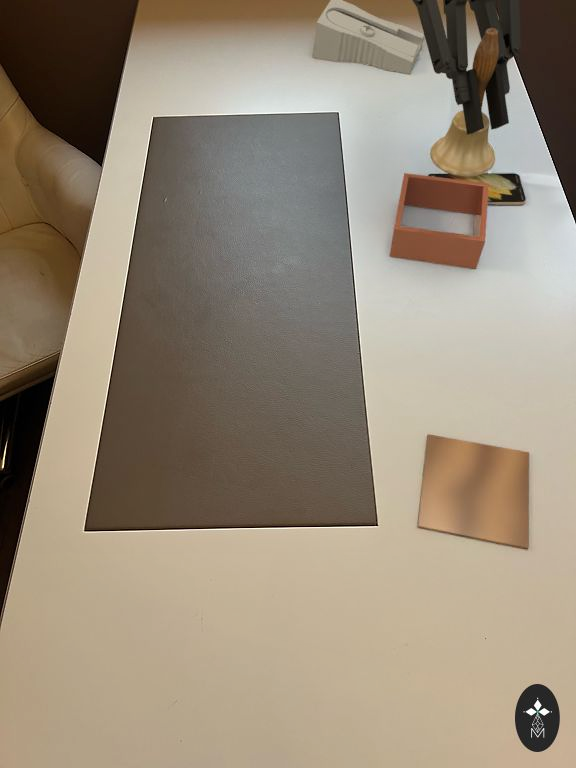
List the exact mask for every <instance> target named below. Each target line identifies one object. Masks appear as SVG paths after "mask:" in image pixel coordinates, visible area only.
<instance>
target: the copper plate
mask: <svg viewBox="0 0 576 768" xmlns="http://www.w3.org/2000/svg"><path fill="white" fill-rule="evenodd" d="M420 489H421V491H420V500H419V509H418V518H417V528H419V529H424V530H429V531H434V532H439V533H444V534H450V535H454V536H458V537H465V538H469V539H474V540H479V541H483V542H490V543H493V544H499V545H502V546H503V545H504V546H509V547H513V548H518V549H524V550H528V549H530V548H529V546H530V537H529V536H530V522H529V521H530V452H528V451H523V450H518V449H513V448H508V447H503V446H495V445H490V444H486V443H485V444H484V443H481V442H480V443H479V442H473V441H467V440H462V439H458V438H452V437H445V436H440V435H435V434H430V433H429V434H427V435H426V445H425V454H424V462H423V472H422V481H421V488H420Z"/></svg>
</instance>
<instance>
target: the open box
mask: <svg viewBox="0 0 576 768" xmlns="http://www.w3.org/2000/svg"><path fill="white" fill-rule="evenodd" d="M488 187H489V184H488V183H480V182H472V181H464V180H456V179H448V178H440V177H432V176H428V175H424V174H415V173H409V172H408V173H406V172H404V173H403V177H402V183H401V189H400V193H399V198H398V205H397V209H396V214H395V215H396V216H395V221H394V227H393V232H392V238H391V243H390V249H389V250H390V251H389V257H390V258H396V259H403V260H410V261H415V262H417V261H418V262H424V263H431V264H438V265H445V266H451V267H459V268H464V269H465V268H467V269H473V270H476V269H477V268H478V264H479V261H480V259H481V255H482V252H483V250H484V247H485V243H486V236H487V235H486V233H487V218H488V205H489V204H488ZM406 206H407V207H413V208H414V207H415V208H423V209H430V210H437V211H443V212H444V211H445V212H453V213H460V214H467V215H474V218H473V219H474V221H473V233H472V234H473V235H470V234H463V233H456V232H447V231H441V230H434V229H433V230H432V229H427V228H418V227H413V226H412V227H411V226H403V225H402V217H403V212H404V207H406Z"/></svg>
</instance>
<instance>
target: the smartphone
mask: <svg viewBox="0 0 576 768" xmlns="http://www.w3.org/2000/svg"><path fill="white" fill-rule="evenodd" d="M427 176H432V177H440V178H448V179H456V180H464V181H472V182H480V183H488V184H489V187H488V204H487V205H524V204H525V203H526V201H527V197H526V194H525V189H524V186H523V184H522V180H521V177H520V175H519V174H518V173H515V172H507V173H505V172H504V173H503V172H502V173H501V172H500V173H499V172H496V173H495V172H494V173H493V172H492V173H489V172H488V173H487V172H486V173H484V174H481V175H478V176H473V177H461V176H455V175H451V174H448V173H428V174H427Z"/></svg>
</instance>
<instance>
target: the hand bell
mask: <svg viewBox="0 0 576 768" xmlns="http://www.w3.org/2000/svg"><path fill="white" fill-rule="evenodd" d="M498 53H499V46H498V30H496V29H495V28H489V29H487V30H486V32H485V35H484V37H483V38H482V40H481V39H480V42H479V44H478V45H477V48H476V50H475V52H474V57H473V61H472V68H471V69H475V70H476V77H477V84H478V90H479V97H480V104H481V110H483V102H484V98H485V94H486V91H485V89H486V86H487V84H488V82H489V80H490V78H491V77H492V75H493V72H494V70H495V67H496V63H497V59H498ZM482 117H483V123H484V129H481V130H479V131H477V132H475V133H473V134H468V135H467V131H466V124H465V118H464V111H463V109H462V110H460V111H457V113H455V114H454V116H453V118H452V120H451V123H450V126H449V128H448V130H447V132H446V133H445V135H444V136H442V137H440V138H439V139H438V140H436V141H435V142H434V143H433V145H432V146H431V147H430V151H429V156H430V161H431V162H432V163H433V164H434V165H435V166H436V167H437V168H438V169H439V170H440V171H442V172H443V173H445V174H451V175H455V176H461V177H473V176H478V175H481V174H484V173H487V172H489V171H490V170H491V169H492V168H493V167H494V165H495V163H496V155H495V154H496V153H495V152H494V149H493V147H492V146H491V145H490V143H489V131H490V118H489V116H488V115H487V114H486V113H484V112H483V111H482Z"/></svg>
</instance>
